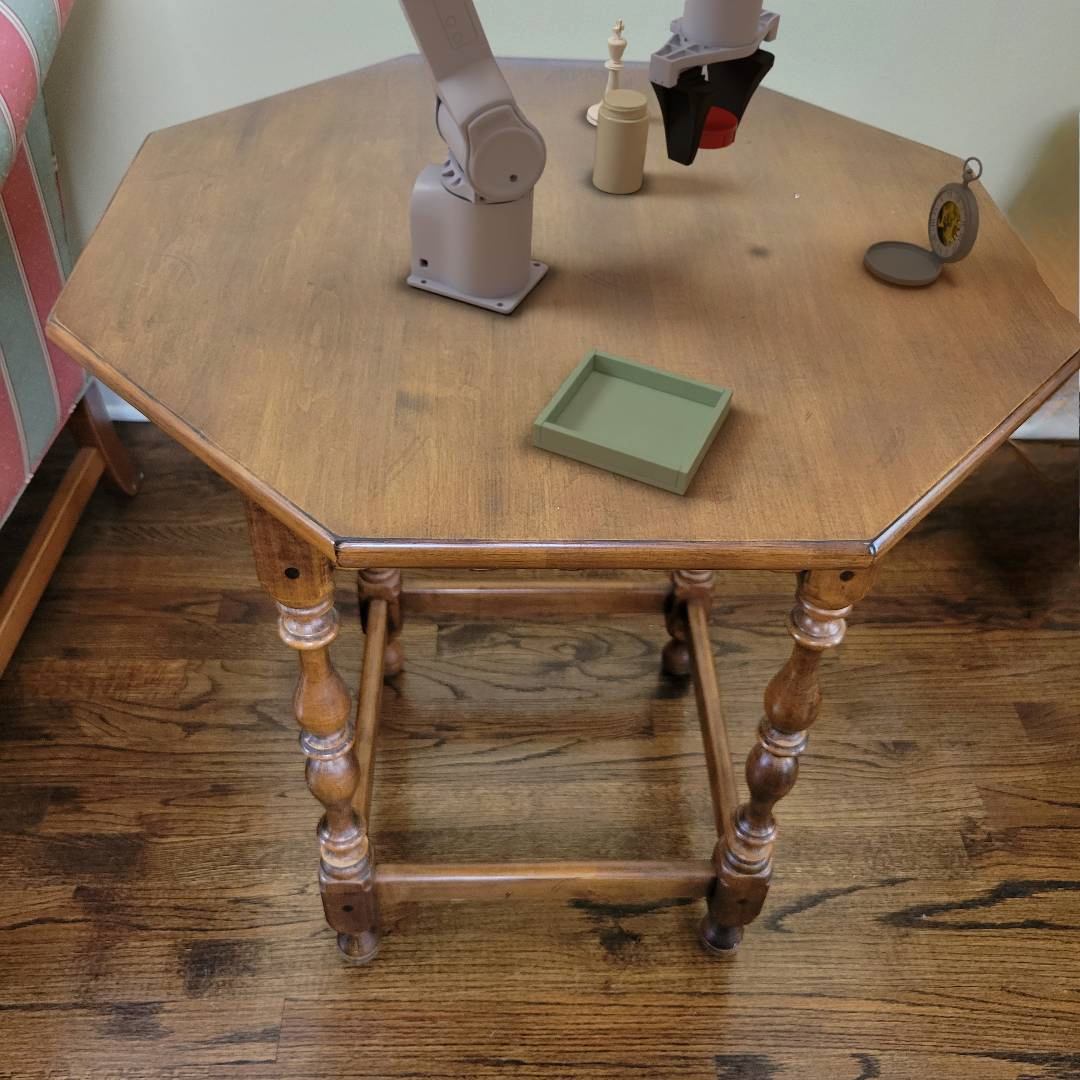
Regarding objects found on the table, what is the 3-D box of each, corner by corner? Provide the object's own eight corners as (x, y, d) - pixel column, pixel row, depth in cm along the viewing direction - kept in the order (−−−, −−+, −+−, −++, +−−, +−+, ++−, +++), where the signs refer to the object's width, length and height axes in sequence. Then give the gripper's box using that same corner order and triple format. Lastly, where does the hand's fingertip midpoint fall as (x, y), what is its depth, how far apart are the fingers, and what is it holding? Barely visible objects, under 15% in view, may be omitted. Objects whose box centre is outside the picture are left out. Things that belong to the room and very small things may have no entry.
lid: (747, 136, 87) (750, 119, 86) (710, 155, 84) (713, 137, 83) (696, 116, 89) (698, 99, 88) (658, 134, 86) (661, 116, 85)
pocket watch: (847, 267, 94) (878, 158, 87) (898, 236, 98) (932, 130, 91) (928, 306, 90) (968, 195, 83) (978, 272, 94) (1020, 164, 87)
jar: (584, 187, 102) (591, 101, 96) (603, 166, 105) (611, 83, 100) (631, 199, 101) (641, 113, 95) (648, 178, 104) (659, 94, 98)
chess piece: (641, 117, 114) (652, 19, 107) (618, 133, 111) (629, 33, 104) (601, 105, 116) (609, 7, 109) (577, 120, 113) (585, 21, 106)
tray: (531, 445, 75) (533, 422, 73) (588, 369, 81) (590, 347, 80) (683, 496, 72) (687, 473, 70) (728, 412, 78) (733, 390, 77)
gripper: (738, -63, 84) (710, 109, 93) (624, -23, 76) (606, 161, 85) (816, -40, 80) (779, 136, 90) (706, 4, 72) (677, 192, 82)
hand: (699, 150), depth 87 cm, fingers closed on lid, 5 cm apart
